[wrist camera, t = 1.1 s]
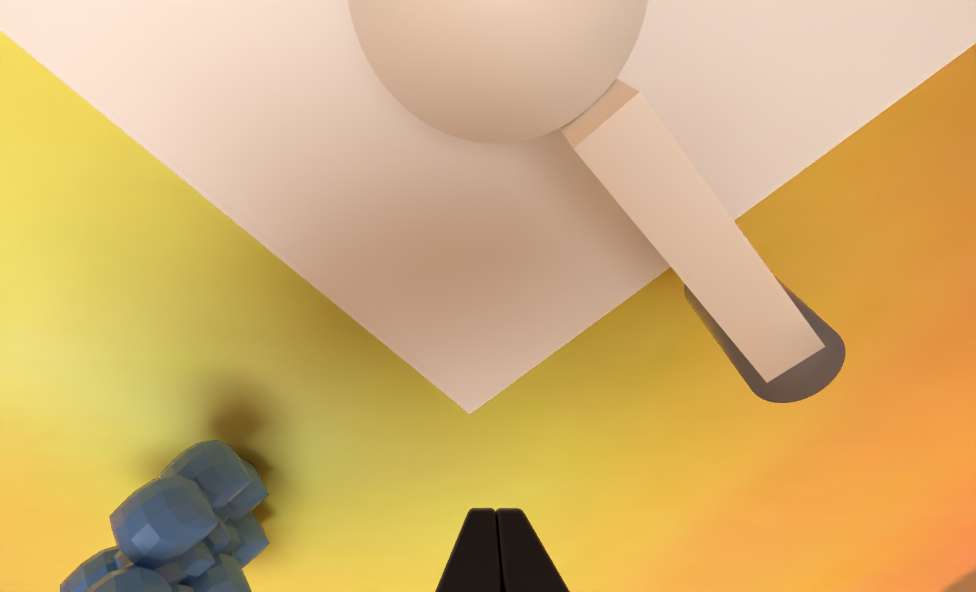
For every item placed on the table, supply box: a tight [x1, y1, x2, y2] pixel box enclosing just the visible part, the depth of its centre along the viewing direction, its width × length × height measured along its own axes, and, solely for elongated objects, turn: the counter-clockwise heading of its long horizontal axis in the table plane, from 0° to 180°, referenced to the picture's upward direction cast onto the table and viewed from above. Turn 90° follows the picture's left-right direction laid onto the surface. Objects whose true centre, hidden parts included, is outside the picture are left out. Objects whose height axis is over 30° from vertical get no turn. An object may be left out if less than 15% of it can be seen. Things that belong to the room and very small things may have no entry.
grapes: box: [60, 440, 269, 592], centre depth 20 cm, size 12×7×12 cm, turn 172°
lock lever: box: [348, 0, 845, 403], centre depth 13 cm, size 15×6×4 cm, turn 42°
